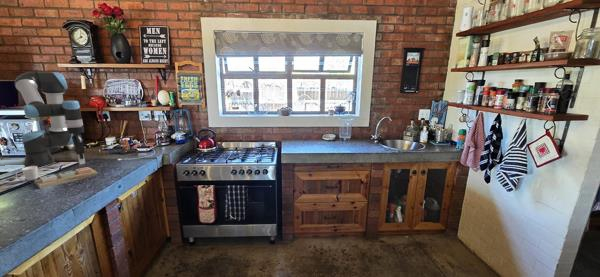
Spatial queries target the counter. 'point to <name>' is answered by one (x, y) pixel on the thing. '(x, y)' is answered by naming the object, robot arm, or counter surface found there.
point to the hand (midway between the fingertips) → (82, 163)
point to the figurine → (126, 148)
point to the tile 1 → (48, 178)
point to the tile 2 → (66, 174)
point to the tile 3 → (83, 170)
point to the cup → (29, 173)
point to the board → (65, 179)
